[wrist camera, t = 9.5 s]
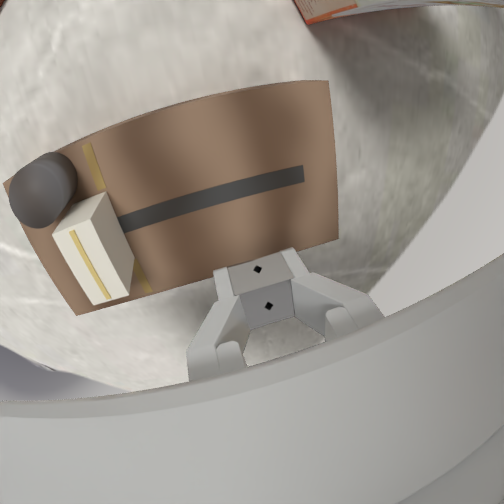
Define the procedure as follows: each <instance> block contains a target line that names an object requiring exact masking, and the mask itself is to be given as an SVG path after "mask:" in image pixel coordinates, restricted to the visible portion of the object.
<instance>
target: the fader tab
mask: <svg viewBox="0 0 504 504" xmlns="http://www.w3.org/2000/svg"><path fill="white" fill-rule="evenodd" d="M52 236H53V238H54V240H55V242H56V244H57V246H58V248H59V249H60V251H61V253H62V255H63V257H64V258H65V260H66V262H67V264H68V265H69V267H70V269H71V271H72V272H73V274H74V276H75V277H76V279H77V281H78V282H79V284H80V285H81V287H82V289H83V290H84V292H85V293H86V295H87V297H88V298H89V300H90V301H91V303H92V304H93V305H97V304H100V303H104V302H107V301H111V300H114V299H118V298H121V297H125V296H128V295H129V293H130V285H131V278H132V271H133V265H134V258H135V257H134V255H133V253H132V251H131V249H130V246H129V244H128V242H127V240H126V238H125V235H124V233H123V231H122V228H121V226H120V224H119V222H118V219H117V217H116V214H115V212H114V210H113V207H112V205H111V202H110V200H109V197H108V195H107V192H106V191H105V192H103V193H100V194H98V195H95V196H93V197H90V198H88V199H85V200H83V201H80V202H78V203H76V204H73V205H72V206H71V208H70V209H69V211H68V212H67V213H66V215H65V216H64V218H63V219H62V220H61V222H60V223H59V225H58V226H57V228H56V229H55V231H54V232H53V234H52Z"/></svg>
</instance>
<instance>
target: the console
mask: <svg viewBox="0 0 504 504" xmlns="http://www.w3.org/2000/svg"><path fill="white" fill-rule="evenodd" d="M3 185H4V188H5V190H6V193H7V195H8V197H9V202H10V206H11V208H12V211H13V213H14V214H15V216H16V217H17V218H18V220H19V221H20V224H21V226H22V228H23V230H24V232H25V234H26V235H27V237H28V239H29V241H30V243H31V245H32V247H33V249H34V250H35V252H36V254H37V256H38V257H39V259H40V261H41V263H42V264H43V266H44V268H45V269H46V271H47V273H48V274H49V276H50V278H51V279H52V281H53V282H54V284H55V285H56V287H57V288H58V290H59V291H60V293H61V294H62V296H63V297H64V299H65V300H66V302H67V303H68V305H69V306H70V308H71V309H72V310H73V312H74V313H75V315H76V316H78V315H81V314H85V313H88V312H92V311H96V310H99V309H103V308H106V307H110V306H114V305H117V304H121V303H124V302H128V301H131V300H135V299H138V298H142V297H145V296H149V295H152V294H156V293H159V292H163V291H166V290H170V289H173V288H177V287H180V286H183V285H187V284H190V283H194V282H197V281H201V280H204V279H207V278H211V277H214V275H213V270H216V269H220V268H223V267H227V266H230V265H234V264H238V263H241V262H245V261H249V260H253V259H257V258H260V257H264V256H267V255H270V254H274V253H277V252H279V251H282V250H285V249H288V248H291V247H293V248H294V249H295V250H296V252H297V251H301V250H304V249H307V248H310V247H314V246H317V245H320V244H323V243H327V242H330V241H333V240H336V239H339V238H338V189H337V168H336V152H335V139H334V127H333V117H332V107H331V99H330V90H329V83H328V81H322V80H301V81H292V82H283V83H275V84H268V85H261V86H255V87H249V88H243V89H238V90H233V91H228V92H223V93H218V94H214V95H209V96H205V97H201V98H197V99H193V100H189V101H185V102H182V103H178V104H174V105H171V106H167V107H164V108H161V109H158V110H154V111H151V112H148V113H145V114H142V115H139V116H136V117H134V118H131V119H128V120H125V121H123V122H120V123H117V124H115V125H112V126H110V127H107V128H105V129H102V130H100V131H97V132H95V133H93V134H90V135H88V136H86V137H83V138H81V139H79V140H77V141H75V142H73V143H70V144H68V145H66V146H64V147H62V148H60V149H58V150H56V151H54V152H49V153H46V154H43V155H42V156H40V157H39V158H37V159H35V160H34V161H32V162H31V163H29V164H28V165H26V166H25V167H23V168H22V169H20V170H19V171H18V172H17V173H16V174H15V175H14V176H12V177H11V178H10V179H8V180H7V181H5V182H4V183H3ZM105 191H106V192H107V195H108V197H109V200H110V202H111V205H112V207H113V210H114V212H115V214H116V217H117V219H118V222H119V224H120V226H121V228H122V231H123V233H124V235H125V238H126V240H127V242H128V244H129V246H130V249H131V251H132V253H133V255H134V257H135V258H134V265H133V271H132V278H131V285H130V293H129V295H128V296H125V297H121V298H118V299H114V300H111V301H107V302H104V303H100V304H97V305H93V304H92V303H91V301H90V300H89V298H88V297H87V295H86V293H85V292H84V290H83V289H82V287H81V285H80V284H79V282H78V281H77V279H76V277H75V276H74V274H73V272H72V271H71V269H70V267H69V265H68V264H67V262H66V260H65V258H64V257H63V255H62V253H61V251H60V249H59V248H58V246H57V244H56V242H55V240H54V238H53V236H52V234H53V232H54V231H55V229H56V228H57V226H58V225H59V223H60V222H61V220H62V219H63V218H64V216H65V215H66V213H67V212H68V211H69V209H70V208H71V206H72V205H73V204H76V203H78V202H80V201H83V200H85V199H88V198H90V197H93V196H95V195H98V194H100V193H103V192H105ZM227 269H228V268H227Z"/></svg>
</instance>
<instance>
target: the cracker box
mask: <svg viewBox="0 0 504 504" xmlns="http://www.w3.org/2000/svg"><path fill="white" fill-rule="evenodd" d="M294 1H295V3H296V5H297V7H298V9H299V10H300V12H301V14H302V16H303V18H304V20H305V22H306V24H307V25H310V24H313V23H317V22H321V21H325V20H329V19H334V18H339V17H344V16H349V15H355V14H360V13H366V12H373V11H380V10H388V9H396V8H407V7H419V6H438V5H473V6H489V7H500V8H504V0H294Z"/></svg>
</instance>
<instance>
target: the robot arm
mask: <svg viewBox="0 0 504 504" xmlns="http://www.w3.org/2000/svg"><path fill="white" fill-rule="evenodd" d="M227 268H228V269H227ZM213 275H214V280H215V285H216V291H217V296H218V301H216V302H214V304H213V306H212V307H211V309H210V311H209V313H208V314H207V316H206V318H205V320H204V321H203V323H202V325H201V327H200V328H199V330H198V332H197V334H196V335H195V337H194V339H193V341H192V342H191V344H190V346H189V348H188V349H187V351H186V355H187V366H188V376H189V382H184V383H180V384H175V385H170V386H164V387H159V388H154V389H148V390H142V391H136V392H129V393H122V394H115V395H107V396H98V397H89V398H78V399H64V400H48V401H1V402H0V504H504V254H502V255H500V256H499V257H497V258H496V259H494V260H493V261H491V262H489V263H488V264H486V265H485V266H483V267H481V268H480V269H478V270H476V271H475V272H473V273H471V274H469V275H468V276H466V277H464V278H463V279H461V280H459V281H457V282H455V283H454V284H452V285H450V286H448V287H446V288H444V289H442V290H441V291H439V292H437V293H435V294H433V295H431V296H429V297H427V298H425V299H423V300H421V301H419V302H417V303H415V304H413V305H411V306H409V307H407V308H405V309H403V310H400V311H398V312H396V313H394V314H392V315H389V316H387V317H384V316H383V314H382V313H381V312H380V310H379V309H378V307H377V306H376V304H375V303H374V302H373V300H372V299H371V298H370V296H369V295H368V294H366V293H363V292H361V291H358V290H356V289H353V288H351V287H349V286H346V285H344V284H341V283H339V282H336V281H334V280H332V279H329V278H327V277H324V276H322V275H319V274H317V273H314V272H312V273H309V271H308V270H307V268H306V266H305V265H304V263H303V262H302V260H301V258H300V257H299V255H298V254H297V252H296V250H295V249H294V248H293V247H291V248H288V249H285V250H282V251H279V252H277V253H274V254H270V255H267V256H264V257H260V258H257V259H253V260H249V261H245V262H241V263H238V264H234V265H230V266H227V267H223V268H220V269H216V270H213ZM294 316H295V317H296V318H297V319H299V320H300V321H302V322H303V323H305V324H306V325H308V326H309V327H311V328H312V329H314V330H315V331H317V332H318V333H320V334H321V335H323V336H325V342H323V343H320V344H318V345H315V346H312V347H309V348H306V349H303V350H300V351H298V352H295V353H292V354H288V355H285V356H282V357H279V358H276V359H273V360H270V361H266V362H263V363H259V364H256V365H253V366H249V367H248V366H247V364H246V361H245V359H244V356H243V352H244V349H245V346H246V343H247V340H248V337H249V334H250V330H252V329H255V328H258V327H261V326H264V325H267V324H270V323H274V322H277V321H281V320H284V319H287V318H291V317H294Z"/></svg>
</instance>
